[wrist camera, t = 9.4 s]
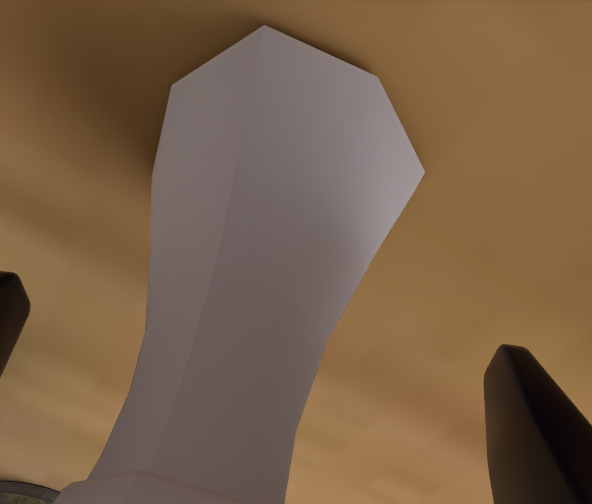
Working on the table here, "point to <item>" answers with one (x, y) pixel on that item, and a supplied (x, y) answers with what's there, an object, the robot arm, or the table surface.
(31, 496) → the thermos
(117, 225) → the table surface
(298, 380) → the flask
